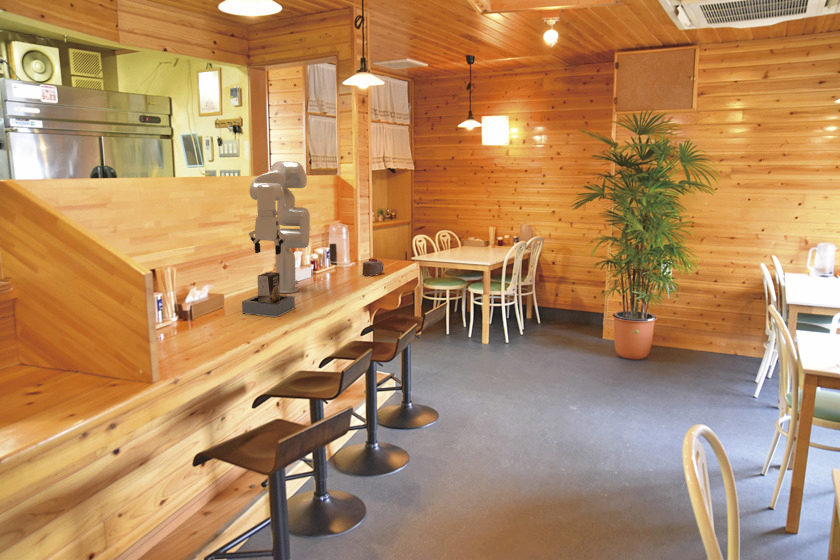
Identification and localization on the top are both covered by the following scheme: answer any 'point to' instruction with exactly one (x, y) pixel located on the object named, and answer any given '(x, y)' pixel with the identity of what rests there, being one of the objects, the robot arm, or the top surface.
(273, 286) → the coffee box
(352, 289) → the top surface
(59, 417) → the top surface
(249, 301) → the socket
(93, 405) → the top surface
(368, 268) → the food item
